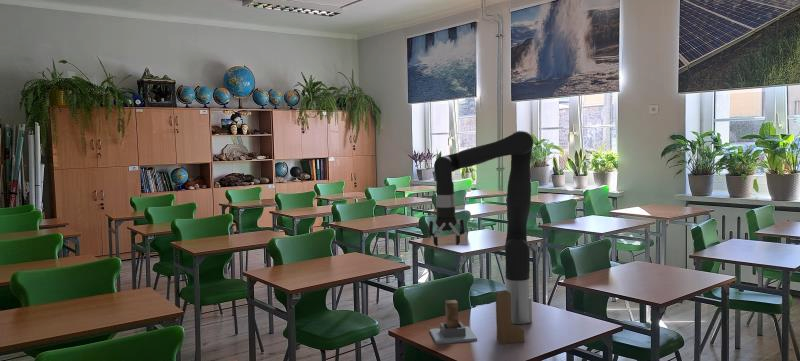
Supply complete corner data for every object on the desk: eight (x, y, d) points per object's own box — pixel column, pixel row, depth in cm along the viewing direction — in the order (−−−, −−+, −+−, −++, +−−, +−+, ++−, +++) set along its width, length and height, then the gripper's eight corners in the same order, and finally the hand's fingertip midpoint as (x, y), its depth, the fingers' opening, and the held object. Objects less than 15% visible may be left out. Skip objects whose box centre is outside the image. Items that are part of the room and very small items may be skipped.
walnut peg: (456, 331, 222) (455, 299, 221) (458, 334, 218) (457, 302, 217) (446, 332, 222) (445, 300, 221) (448, 335, 218) (447, 303, 217)
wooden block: (520, 338, 215) (519, 289, 213) (524, 342, 210) (523, 292, 209) (496, 340, 214) (495, 291, 212) (500, 344, 209) (498, 294, 208)
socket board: (468, 328, 227) (468, 318, 227) (477, 340, 214) (476, 330, 213) (429, 331, 226) (429, 321, 225) (436, 344, 212) (435, 333, 212)
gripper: (429, 207, 234) (431, 247, 235) (465, 205, 236) (466, 245, 237) (426, 205, 242) (428, 244, 243) (460, 203, 243) (462, 242, 244)
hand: (446, 245), depth 240 cm, fingers open, 8 cm apart
